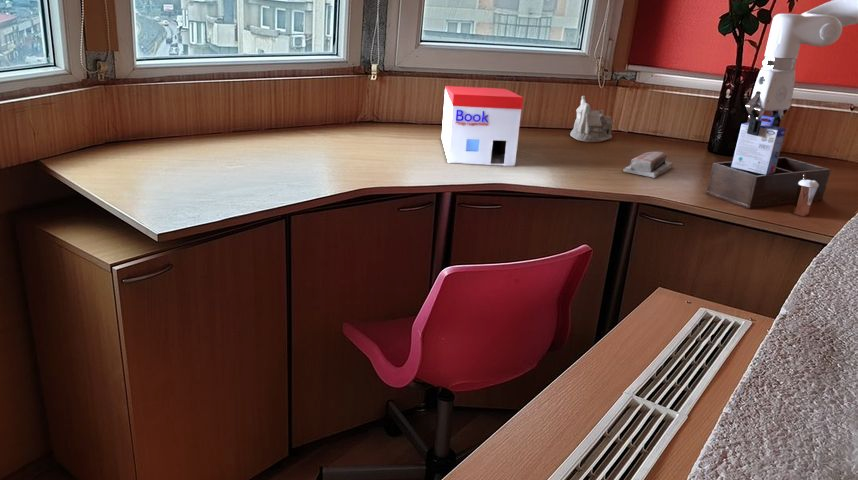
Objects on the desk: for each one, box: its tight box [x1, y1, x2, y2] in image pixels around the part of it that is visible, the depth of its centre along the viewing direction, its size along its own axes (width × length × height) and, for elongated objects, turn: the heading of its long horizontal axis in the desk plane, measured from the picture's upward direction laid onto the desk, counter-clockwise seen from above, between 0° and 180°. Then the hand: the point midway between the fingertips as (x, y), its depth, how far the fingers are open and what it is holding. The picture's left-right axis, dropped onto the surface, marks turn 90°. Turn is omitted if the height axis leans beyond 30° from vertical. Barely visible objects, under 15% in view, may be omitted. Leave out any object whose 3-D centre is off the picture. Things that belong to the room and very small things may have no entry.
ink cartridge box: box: [731, 114, 787, 175], centre depth 191 cm, size 10×6×14 cm, turn 41°
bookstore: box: [441, 85, 524, 167], centre depth 232 cm, size 21×35×21 cm, turn 0°
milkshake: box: [792, 174, 819, 217], centre depth 184 cm, size 4×5×10 cm
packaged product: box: [622, 151, 674, 178], centre depth 222 cm, size 18×5×10 cm
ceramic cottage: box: [569, 95, 613, 143], centre depth 263 cm, size 16×16×15 cm
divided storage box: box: [706, 156, 832, 210], centre depth 198 cm, size 15×28×9 cm, turn 114°
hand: (762, 133), depth 190 cm, fingers closed on ink cartridge box, 6 cm apart
